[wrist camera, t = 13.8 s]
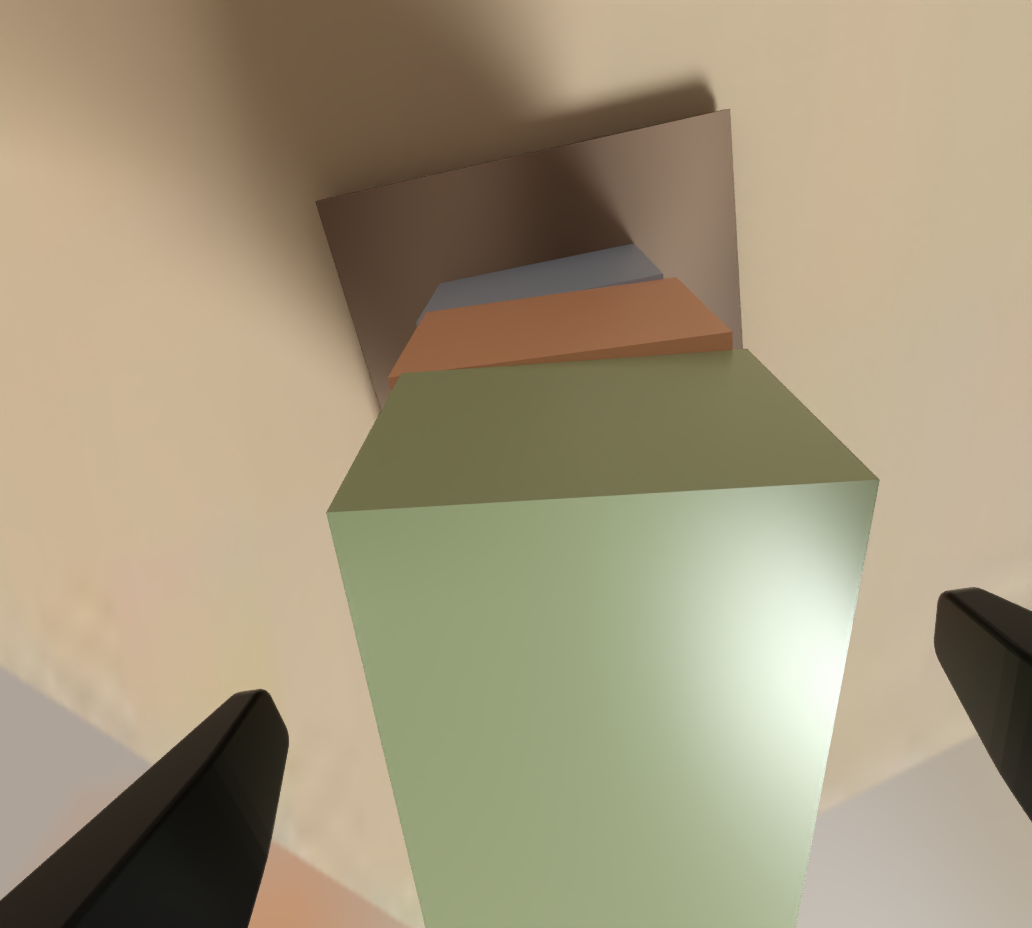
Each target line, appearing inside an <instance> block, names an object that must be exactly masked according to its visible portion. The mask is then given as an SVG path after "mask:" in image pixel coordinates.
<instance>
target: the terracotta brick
mask: <svg viewBox="0 0 1032 928" xmlns="http://www.w3.org/2000/svg"><path fill="white" fill-rule="evenodd" d="M724 350H733V332H732V331H731V330H730V329H729V328H728V327H727V326H726V325H725V324H724V323H723V322H722V321H721V320H720V319H719V318H718V317H717V316H716V315H715V314H714V313H713V312H712V311H711V310H710V309H709V308H708V307H707V306H706V305H705V304H703V303H702V302H701V301H700V300H699V299H698V298H697V297H696V296H695V295H694V294H693V293H692V292H691V291H690V290H689V289H688V288H687V287H686V286H685V285H684V284H683V283H682V282H681V281H680V280H679V279H678V278H677V277H673V278H666V279H659V280H652V281H645V282H638V283H630V284H623V285H616V286H609V287H602V288H595V289H588V290H580V291H573V292H566V293H559V294H552V295H545V296H538V297H530V298H523V299H516V300H509V301H502V302H495V303H488V304H480V305H473V306H466V307H459V308H452V309H445V310H438V311H430V312H426V313H425V314H424V316H423V318H422V320H421V321H420V323H419V325H418V326H417V328H416V330H415V332H414V333H413V335H412V337H411V338H410V340H409V342H408V344H407V345H406V347H405V349H404V350H403V352H402V354H401V356H400V357H399V359H398V361H397V362H396V364H395V366H394V368H393V369H392V371H391V373H390V374H389V376H388V381H389V385H390V389H391V391H392V389H393V388H394V386H395V384H396V382H397V380H398V378H399V376H400V375H401V373H410V372H424V371H438V370H453V369H467V368H481V367H495V366H510V365H524V364H538V363H553V362H567V361H581V360H595V359H610V358H624V357H638V356H652V355H667V354H681V353H695V352H709V351H724Z"/></svg>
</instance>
